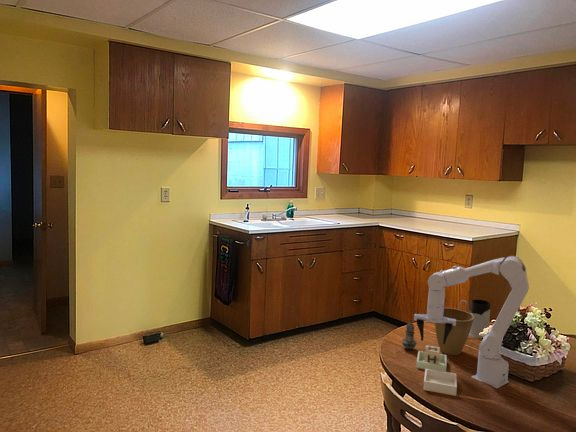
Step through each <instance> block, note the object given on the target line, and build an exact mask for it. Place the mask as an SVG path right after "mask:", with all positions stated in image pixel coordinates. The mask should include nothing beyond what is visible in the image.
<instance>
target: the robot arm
mask: <svg viewBox="0 0 576 432" xmlns="http://www.w3.org/2000/svg"><path fill="white" fill-rule="evenodd" d="M488 273H492V274H494V275H497V276H500V274H501V276H502V277H503V278H505V280H507V282H508V284H509V286H510V288H511V290H510V292H509V294H508V296H507V298H506V300H505V301H504V304H503V306H502V308H501V310H500V312H499V313H498V315H497V317H496V319H495V321H494V323H493V325H492V326H491V328H490V329H489V331H488V333H487V334H485V335H484V337H483V339H482V340H481V342H480V343H479V345H478V357H477V365H476V374H474V375H471V378H472V379H474V380H475V379H476V380H477V381H479V382H483V383H485V384H486V385H489V386H491V387H492V388H494V389H499V388H501V387H503V386H505V385H507V384H509V380H508V378H509V369H510V368H509V367H510V365H509V362H508V360H505V359H504V358H503V357H502V354H501V352H500V349H501V347H502V345H503V339H504V336H505V335H506V334H507V331H508V329H509V327H510V325H511V324H512V323H513V319H514V318H515V317H516V314H517V313H518V311H519V308H520V307H521V305H522V303H523V302H524V299H525V297H526V296H527V294H528V291H529V290H530V286H529V279H528V274H527V267H526V265H525V264H524V262H523V261H522V259H521V258H520V257H518V256H516V255H508V256H507V257H500V258H495V259H491V260H488V261H484V262H482V263H478V264H475V265H472V266H469V267H466V268H465V267H463V266H458V265H453V266H452V267H451V268H450V269H445V270H443V269H441V270H440V271H436V272H434V273H433V274H431V275H430V276H429V277H428V280H427V286H428V294H427V304H426V306H427V307H426V314H424V313H422V314H421V313H414V315H413V321H416V325H417V327H418V330H419V333H420V340H421V341H422V342H423V341H424V337H425V336H424V329H425V326H424V325H425V322H426V323H427V322H428V323H433V324H434V323H442V324H445V331H444V338H443V344H445V342H446V339H447V336H448V334H449V333H450V331H451V329H452V325H453V326H456V319H451V318H447V317H443V313H444V308H445V300H446V299H445V298H446V297H445V296H446V291H445V289H446V287H452V286H456V285H459V284H463V283H466V282H467V280H468V279H469V278H472V277H475V276H479V275H483V274H488Z"/></svg>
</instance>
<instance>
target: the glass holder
mask: <svg viewBox="0 0 576 432" xmlns="http://www.w3.org/2000/svg"><path fill="white" fill-rule="evenodd" d="M462 302H465V303H466V306H467V312H468V313H470V314H472V315H473V316H474V319H473V323H472V326H471V330H470V333H469V336H470V337H472V338H476V339H479V340H480V339H482V337H481V336H479V333H480V332H482V331H483V329H484V328H487V327H488V326H490V317H491V302H490V301H488V300H485V299H472V300H471V309H470V305H469V303H468V301H467V300H463V299H462V300H460V302H459V303H458V304H459V305H458V310H461V303H462ZM469 336H468V337H469ZM482 340H483V339H482Z"/></svg>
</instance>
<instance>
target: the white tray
mask: <svg viewBox="0 0 576 432" xmlns="http://www.w3.org/2000/svg"><path fill="white" fill-rule="evenodd" d="M457 385H458V381H457V373H453V372H449V371H446V372H443V371H437V370H431V369H424V378H423V391H429V392H432V393H433V392H434V393H440V394H445V395H450V396H456V397H457V390H458V389H457V388H458V386H457Z"/></svg>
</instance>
